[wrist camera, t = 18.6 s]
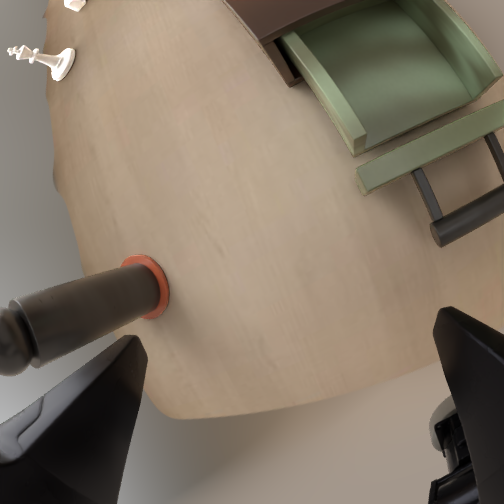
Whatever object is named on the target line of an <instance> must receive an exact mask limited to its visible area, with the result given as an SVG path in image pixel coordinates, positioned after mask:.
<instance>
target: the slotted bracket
mask: <svg viewBox="0 0 504 504" xmlns="http://www.w3.org/2000/svg"><path fill="white" fill-rule="evenodd" d="M64 1H65V6H66V7H68V8H71V9H73V10H75V11H79V10H80V9H81V8H82V7H83V6H84V5H85V4H86V0H64Z"/></svg>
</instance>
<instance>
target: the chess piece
mask: <svg viewBox="0 0 504 504" xmlns="http://www.w3.org/2000/svg"><path fill="white" fill-rule="evenodd" d="M17 48H18V47H17V46H15V47H14V48H9V49H8V51H7V52H10V55H12V54H13V53H15V54H17V56H16V59H17V60H21V59H30V60H29V62H30V63H33V62H34V61H35V60H37V61H39V62H42V63H44V64H46V65H48V66H50V67H52V78H53V79H55V80H57V81H59V80H61V79H63V78H64V77H65V76H66V74H67V73H68V71H69V70H70V68H71V66H72V64H73V61H74V58H75V50H74V49H66V50H64V51H63V52H62V53H61V54H60V55H58V56H52V55H45V54H39V53H38V52H39V49H35V50H34V51H33V52H32V51H31V50H30V49H28V48H27V47H26V46H25V45H23V46H22V47H21V48H20V49H19V50H18V49H17Z"/></svg>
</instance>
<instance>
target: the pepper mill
mask: <svg viewBox="0 0 504 504" xmlns="http://www.w3.org/2000/svg"><path fill="white" fill-rule="evenodd" d="M159 301H160V287H159V283H158V280H157V278H156V276H155V275H154V273H153V272H152V271H151V270H150V269H149V268H148V267H147V266H145V265H143V264H140V263H134V264H131V265H127V266H123V267H120V268H116V269H113V270H109V271H106V272H102V273H99V274H95V275H92V276H88V277H85V278H81V279H78V280H74V281H71V282H67V283H64V284H61V285H57V286H54V287H51V288H47V289H44V290H40V291H37V292H34V293H31V294H28V295H24V296H21V297H17V298H14V299H12V300H11V301H10V302H9V308H3V307H0V375H3V376H16V375H18V374H20V373H22V372H23V371H25V370H26V369H27V367H28V366H29V364H31V365H32V366H33V367H34V368H40V367H42V366H44V365H46V364H48V363H50V362H52V361H54V360H56V359H58V358H60V357H62V356H64V355H66V354H68V353H71V352H72V351H74V350H76V349H78V348H80V347H82V346H84V345H86V344H88V343H90V342H92V341H94V340H96V339H98V338H100V337H102V336H104V335H106V334H108V333H110V332H112V331H114V330H116V329H118V328H120V327H122V326H124V325H126V324H128V323H130V322H132V321H134V320H136V319H138V318H140V317H142V316H144V315H146V314H148V313H150V312H152V311H153V310H155V309H156V308H157V306H158V304H159Z"/></svg>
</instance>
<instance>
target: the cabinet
mask: <svg viewBox="0 0 504 504" xmlns="http://www.w3.org/2000/svg"><path fill="white" fill-rule="evenodd" d="M221 1H222V2H223V3H224V4H225V5H226V6H227V7H228V8H229V10H230V11H231V12H232V13H233V14H234V15H235V17H236V18H237V19H238V20H239V21H240V23H241V24H242V25H243V26H244V27H245V29H246V30H247V31H248V32H249V34H250V35H251V36H252V37H253V39H254V40H255V41H256V43H257V44H258V45H259V47H260V48H261V49H262V50H263V52H264V53H265V54H266V56H267V57H268V59H269V60H270V61H271V63H272V64H273V65H274V67H275V68H276V70H277V71H278V72H279V74H280V75H281V77H282V78H283V80H284V81H285V82H286V84H287V85H288V87H292V86H293V85H295V84H297V83H299V82H301V81H303V80H305V79H304V78H303V77H302V75H301V74H300V72H299V71H298V70H297V68H296V67H295V66H294V64H293V63H292V62H291V60H290V59H289V58H288V56H287V55H286V54H285V52H284V51H283V50H282V49H281V47H280V46H279V45H278V43H277V41H276V40H275V39H277V38H278V37H280V36H282V35H284V34H286V33H288V32H290V31H292V30H294V29H296V28H298V27H300V26H303V25H305V24H307V23H309V22H311V21H313V20H316V19H318V18H320V17H323V16H325V15H327V14H330V13H332V12H335V11H337V10H340V9H342V8H345V7H348V6H350V5H353V4H356V3H359V2H362V1H365V0H221Z"/></svg>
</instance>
